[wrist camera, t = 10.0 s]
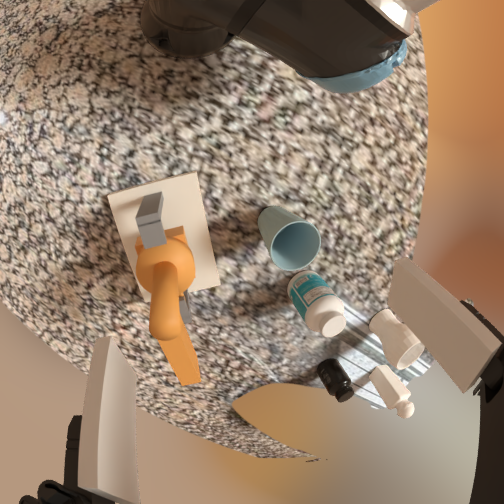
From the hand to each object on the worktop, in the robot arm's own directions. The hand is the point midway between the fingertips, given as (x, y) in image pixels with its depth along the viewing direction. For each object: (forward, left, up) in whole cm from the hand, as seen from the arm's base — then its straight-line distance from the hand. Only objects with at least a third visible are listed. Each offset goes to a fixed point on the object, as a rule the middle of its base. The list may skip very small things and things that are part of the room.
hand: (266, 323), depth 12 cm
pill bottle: (+25, +15, -34) cm, 45 cm away
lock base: (+9, -8, -34) cm, 36 cm away
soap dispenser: (+72, +44, -34) cm, 91 cm away
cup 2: (+46, +39, -34) cm, 69 cm away
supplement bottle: (+57, +22, -34) cm, 70 cm away
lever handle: (+11, -8, -29) cm, 32 cm away
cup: (+11, +10, -34) cm, 37 cm away
